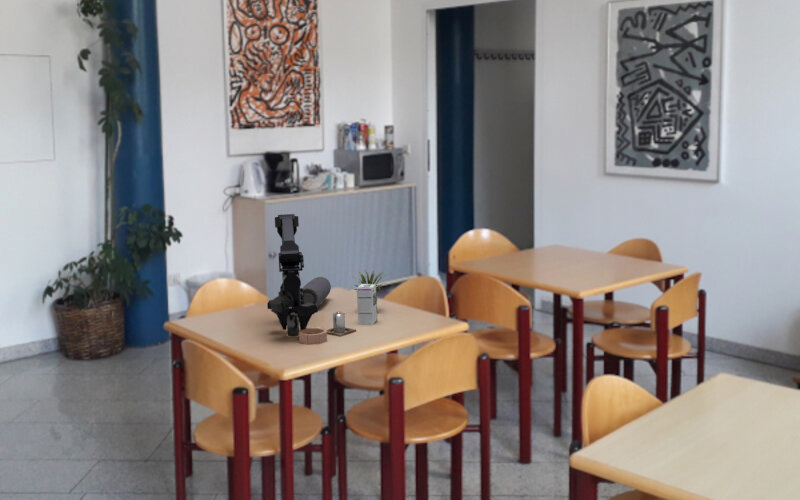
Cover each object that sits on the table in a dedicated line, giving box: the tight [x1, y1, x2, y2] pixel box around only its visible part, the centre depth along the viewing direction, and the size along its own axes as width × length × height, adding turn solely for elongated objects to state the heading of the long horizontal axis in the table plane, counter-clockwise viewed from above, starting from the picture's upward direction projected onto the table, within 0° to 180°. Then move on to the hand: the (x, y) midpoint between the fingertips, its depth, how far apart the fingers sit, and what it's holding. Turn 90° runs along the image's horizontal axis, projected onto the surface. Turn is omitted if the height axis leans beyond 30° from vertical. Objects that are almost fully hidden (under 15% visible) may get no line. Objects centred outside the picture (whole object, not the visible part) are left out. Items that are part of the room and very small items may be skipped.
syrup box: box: [356, 283, 378, 326], centre depth 319 cm, size 6×6×14 cm
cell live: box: [332, 311, 346, 333], centre depth 306 cm, size 4×4×8 cm
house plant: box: [353, 270, 386, 301], centre depth 339 cm, size 14×14×16 cm
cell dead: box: [286, 313, 300, 337], centre depth 304 cm, size 4×4×8 cm
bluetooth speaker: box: [302, 276, 332, 308], centre depth 352 cm, size 23×9×10 cm, turn 172°
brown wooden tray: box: [326, 327, 357, 338], centre depth 307 cm, size 8×8×2 cm
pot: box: [298, 327, 328, 345], centre depth 297 cm, size 9×9×4 cm
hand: (293, 331), depth 305 cm, fingers open, 8 cm apart
